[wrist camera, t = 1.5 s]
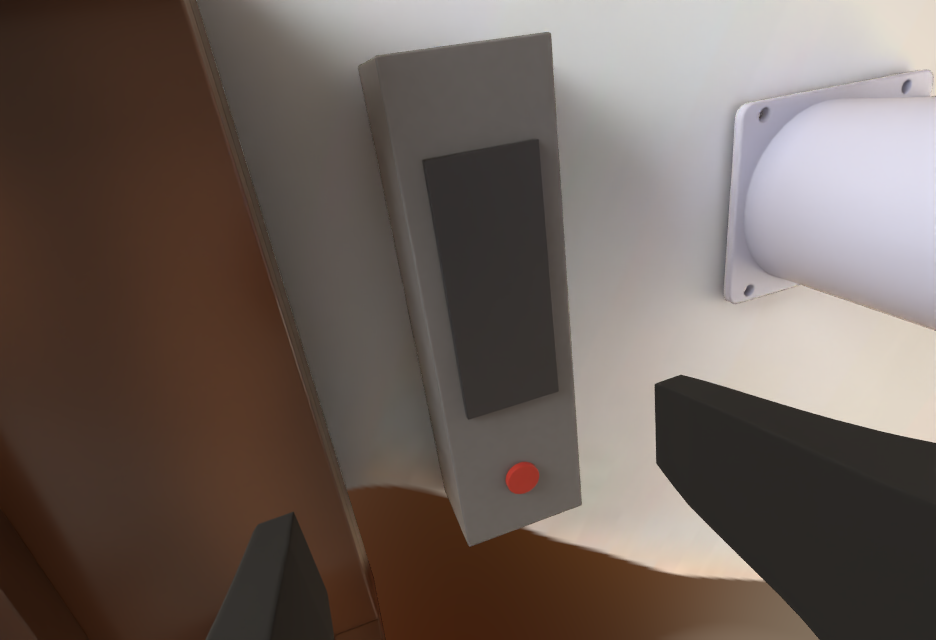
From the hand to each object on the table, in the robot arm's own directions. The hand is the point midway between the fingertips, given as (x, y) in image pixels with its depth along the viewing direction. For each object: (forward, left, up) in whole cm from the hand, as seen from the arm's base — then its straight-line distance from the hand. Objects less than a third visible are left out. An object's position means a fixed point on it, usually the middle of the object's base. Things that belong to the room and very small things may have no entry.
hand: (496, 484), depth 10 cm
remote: (-3, 0, -9) cm, 10 cm away
